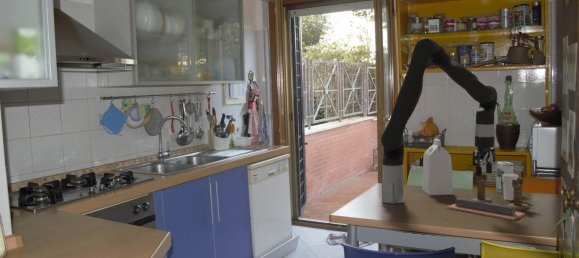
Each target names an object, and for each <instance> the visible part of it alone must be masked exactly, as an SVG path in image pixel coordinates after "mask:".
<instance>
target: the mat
mask: <svg viewBox="0 0 579 258" xmlns="http://www.w3.org/2000/svg"><path fill="white" fill-rule="evenodd" d="M446 209H448V210H454V211H459V212H465V213H468V214H469V213H470V214H476V215H481V216H486V217H492V218H497V219H502V220H508V221H512V222H514V221H516V220H518V219H520V218H522V217H524V216H525V213H523V212H520V211H519V212H517V211H515V215H513V216H510V215H504V214H498V213H493V212H487V211H482V210H476V209H470V208H465V207H459V206H455V203H452V204H450V205H448V206H446Z"/></svg>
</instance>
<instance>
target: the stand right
mask: <svg viewBox="0 0 579 258" xmlns="http://www.w3.org/2000/svg"><path fill="white" fill-rule="evenodd" d="M524 182H525V180H524V178H522V177H518V178H517V180H514V179H513V180H512V187H514V200H513V202H511V203H510V204H507V206H513V207H515V211H520V212H521V211H524V210H526V209H528V208H530V205H529V203H528V204H527V203H523V186H524Z"/></svg>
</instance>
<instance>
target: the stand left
mask: <svg viewBox="0 0 579 258" xmlns="http://www.w3.org/2000/svg"><path fill="white" fill-rule="evenodd" d="M487 174H488V173H482V176H476V175H475V183H477V184H476V185H477V186H476V189H477V191H476V195H477V196H476V197H474V198H471V199H470V200H476V201H482V202H489V203H492V200H493V199H492V198H488V197H486V182H487V180H488V179H487V176H488V175H487Z"/></svg>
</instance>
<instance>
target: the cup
mask: <svg viewBox="0 0 579 258" xmlns="http://www.w3.org/2000/svg"><path fill="white" fill-rule="evenodd" d="M517 178H519V175H518V174H515V173H513V174H503V175H502V180H503V192H504V193H503V199H504V200H505V201H514V187H512V180H513V179H514V180H517Z"/></svg>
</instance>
